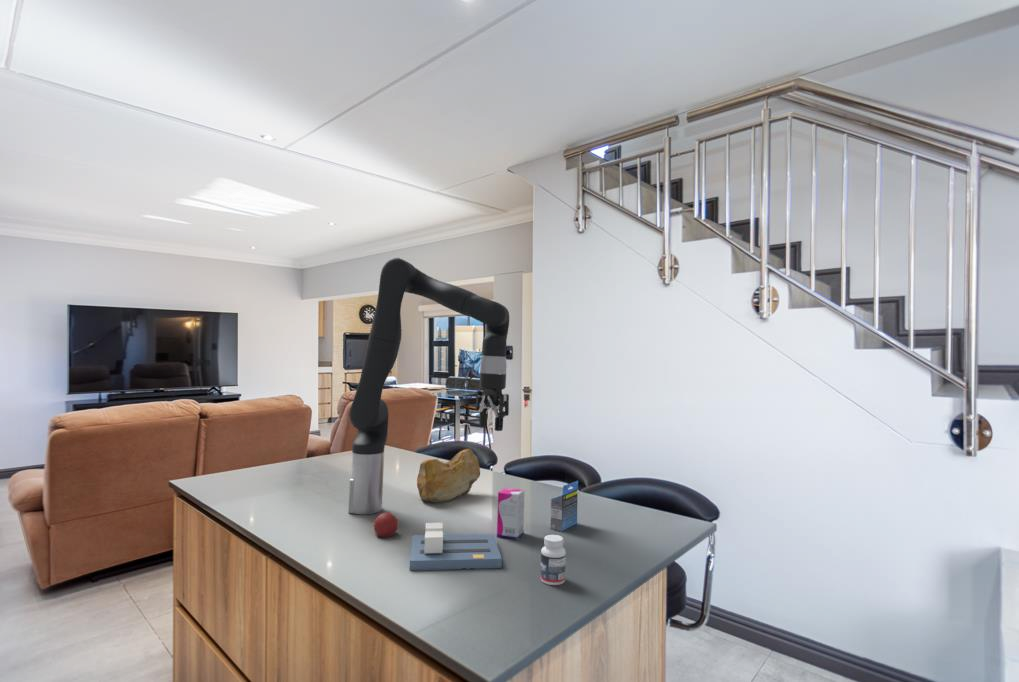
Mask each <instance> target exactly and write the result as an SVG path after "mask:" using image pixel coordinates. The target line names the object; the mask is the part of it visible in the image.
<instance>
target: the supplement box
mask: <svg viewBox="0 0 1019 682" xmlns="http://www.w3.org/2000/svg"><path fill="white" fill-rule="evenodd" d="M525 493H526V492H525V489H520V488H519V489H517V488H509V487H508V488H507V487H505V488H503V489H502V490H500V491H498V492H497V519H496V520H497V521H496V522H497V523H496V526H497V527H496V537H497V538H503V537H504V538H503V539H510V538H511V539H512V540H518V539H519V538H521V536H522V535H523V534H524V533H525V529H524V527H525V525H524V523H525Z"/></svg>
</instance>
